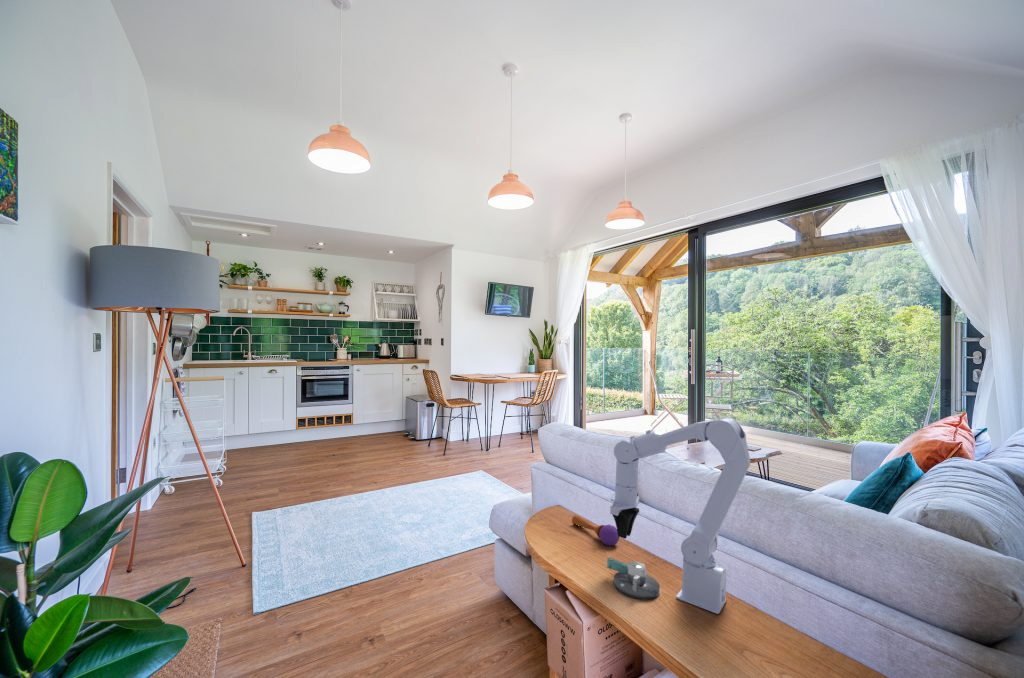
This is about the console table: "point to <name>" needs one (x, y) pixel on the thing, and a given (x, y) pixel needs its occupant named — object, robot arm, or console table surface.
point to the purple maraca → (599, 530)
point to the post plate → (636, 587)
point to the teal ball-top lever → (628, 569)
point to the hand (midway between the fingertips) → (624, 535)
